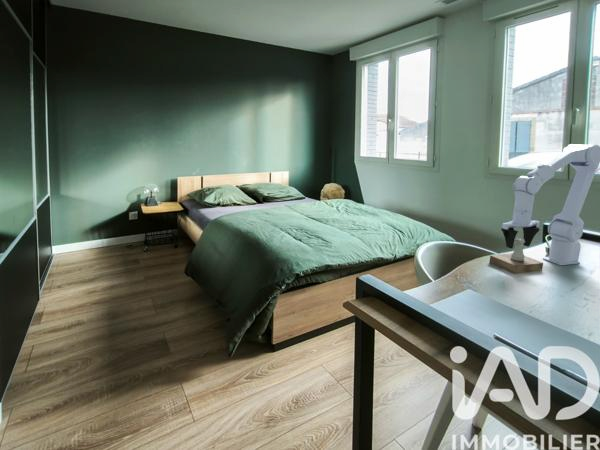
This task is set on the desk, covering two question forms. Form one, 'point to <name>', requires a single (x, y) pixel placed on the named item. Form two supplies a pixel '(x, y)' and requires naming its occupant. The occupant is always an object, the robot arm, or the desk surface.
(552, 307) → the desk surface
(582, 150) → the robot arm
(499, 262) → the walnut block
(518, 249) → the rook chess piece
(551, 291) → the desk surface
